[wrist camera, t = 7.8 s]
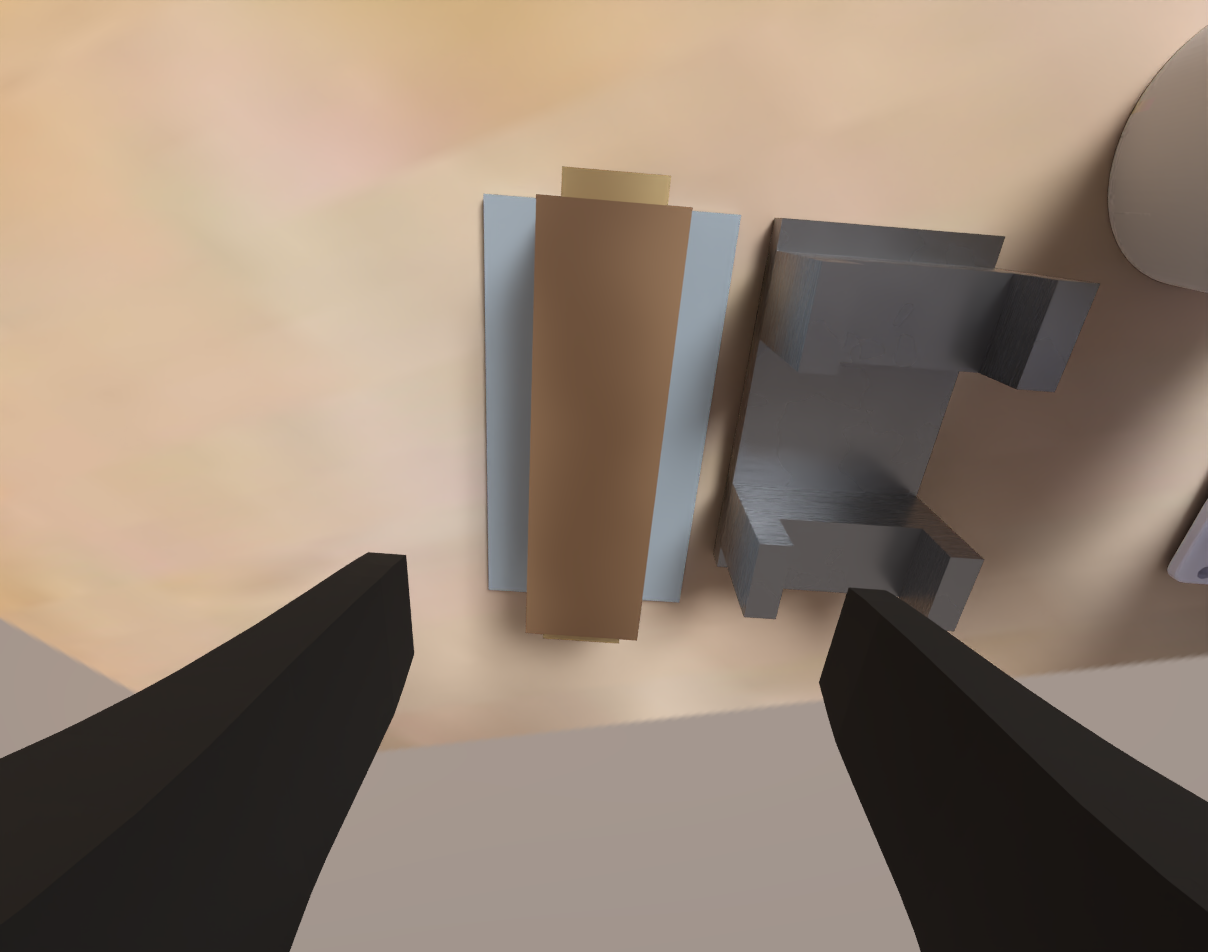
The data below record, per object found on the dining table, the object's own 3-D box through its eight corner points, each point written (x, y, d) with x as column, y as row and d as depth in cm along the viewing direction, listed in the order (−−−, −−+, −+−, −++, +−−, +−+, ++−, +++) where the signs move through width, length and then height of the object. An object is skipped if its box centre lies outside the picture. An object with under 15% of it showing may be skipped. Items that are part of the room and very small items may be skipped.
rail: (679, 183, 15) (696, 176, 12) (631, 589, 21) (634, 655, 18) (552, 172, 15) (536, 162, 12) (537, 583, 21) (525, 648, 18)
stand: (987, 235, 16) (1117, 243, 12) (878, 565, 21) (944, 652, 16) (774, 217, 16) (832, 219, 12) (713, 554, 20) (738, 639, 16)
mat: (738, 214, 16) (741, 215, 15) (678, 597, 21) (679, 602, 21) (485, 194, 16) (483, 193, 15) (490, 584, 21) (488, 589, 21)
